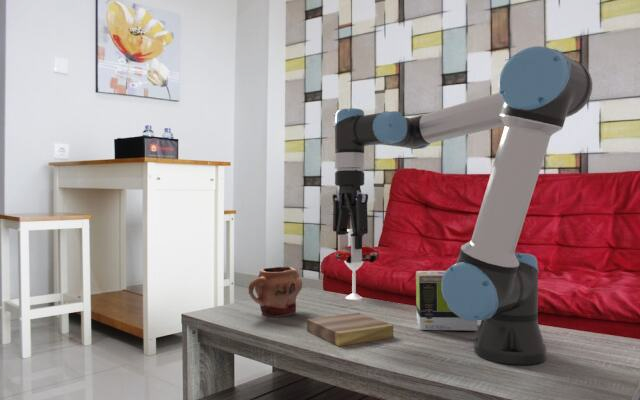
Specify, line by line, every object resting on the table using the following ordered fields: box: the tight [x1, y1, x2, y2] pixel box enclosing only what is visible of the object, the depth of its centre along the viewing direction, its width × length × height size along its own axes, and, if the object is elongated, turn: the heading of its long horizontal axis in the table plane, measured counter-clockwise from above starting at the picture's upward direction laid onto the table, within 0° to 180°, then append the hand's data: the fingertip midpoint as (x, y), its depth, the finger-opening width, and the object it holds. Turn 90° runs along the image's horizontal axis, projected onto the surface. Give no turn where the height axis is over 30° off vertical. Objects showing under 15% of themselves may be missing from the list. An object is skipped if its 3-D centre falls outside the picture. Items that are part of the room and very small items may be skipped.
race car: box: [334, 244, 380, 263], centre depth 133 cm, size 13×5×4 cm, turn 126°
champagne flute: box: [344, 228, 365, 301], centre depth 178 cm, size 7×7×24 cm
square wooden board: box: [306, 312, 394, 347], centre depth 131 cm, size 16×16×3 cm
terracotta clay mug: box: [248, 266, 303, 318], centre depth 152 cm, size 20×12×14 cm, turn 143°
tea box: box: [415, 270, 478, 332], centre depth 139 cm, size 15×10×15 cm, turn 84°
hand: (349, 260), depth 131 cm, fingers closed on race car, 6 cm apart
